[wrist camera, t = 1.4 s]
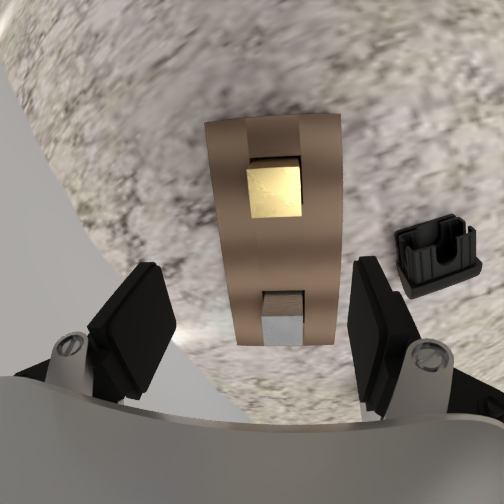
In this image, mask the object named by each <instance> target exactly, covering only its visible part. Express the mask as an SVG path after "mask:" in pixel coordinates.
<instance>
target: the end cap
mask: <svg viewBox="0 0 504 504" xmlns="http://www.w3.org/2000/svg"><path fill="white" fill-rule="evenodd" d="M395 240H396V246H397V252H398V259H399V262H397V267H398V272H399V276H400V280H401V283H402V286H403V289H404V291H405V293H406V295H407V297H408V298H409V299H415V298H418V297H421V296H424V295H427V294H429V293H432V292H435V291H438V290H441V289H444V288H447V287H449V286H452V285H455V284H457V283H460V282H463V281H465V280H468V279H471V278H473V277H476V276H478V275H479V274H480V272H481V269H482V262H481V261H480V260H479V259H478V258H477V257H476V230H475V229H474V228H473V227H472V226H468V233H467V234H466V223H465V221H464V220H463V219H462V218H460V217H456V216H455V215H453V214H450V215H447V216H444V217H440V218H437V219H434V220H431V221H427V222H424V223H421V224H418V225H414V226H411V227H408V228H405V229H401V230H398V231H396V233H395Z"/></svg>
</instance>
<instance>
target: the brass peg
mask: <svg viewBox="0 0 504 504" xmlns="http://www.w3.org/2000/svg"><path fill="white" fill-rule="evenodd" d="M247 178H248V188H249V198H250V208H251V218H266V217H292V216H302V214H301V190H300V170H299V162H298V157H297V156H292V157H272V158H256V159H254V160H253V162H252V163H251V164H250V166H249V167H248V168H247Z"/></svg>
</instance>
